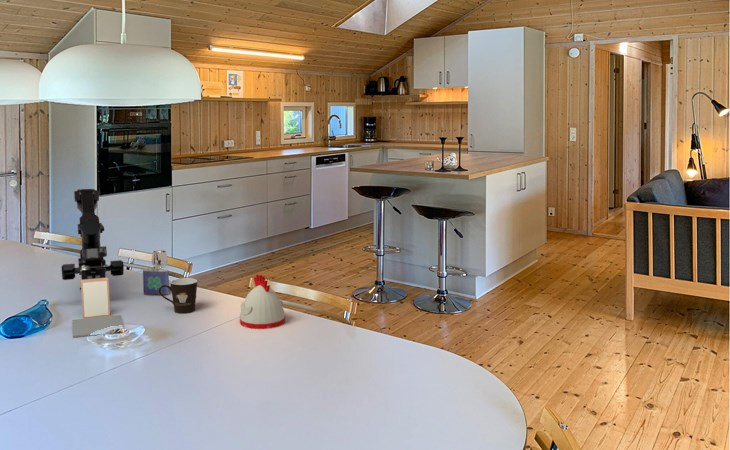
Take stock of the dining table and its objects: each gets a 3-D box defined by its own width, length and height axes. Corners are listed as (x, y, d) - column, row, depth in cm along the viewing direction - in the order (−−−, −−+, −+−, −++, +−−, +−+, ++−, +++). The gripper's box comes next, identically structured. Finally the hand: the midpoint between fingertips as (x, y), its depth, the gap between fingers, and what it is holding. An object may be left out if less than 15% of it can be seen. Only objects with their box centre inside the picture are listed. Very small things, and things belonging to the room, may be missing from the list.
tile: (82, 316, 203) (80, 279, 201) (109, 313, 207) (107, 277, 205) (82, 318, 201) (80, 281, 199) (110, 316, 204) (108, 279, 202)
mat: (72, 321, 198) (72, 319, 198) (120, 316, 204) (120, 314, 204) (73, 337, 184) (72, 336, 184) (124, 331, 190) (124, 330, 190)
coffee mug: (203, 308, 214) (202, 279, 212) (188, 316, 206) (187, 285, 204) (173, 304, 217) (172, 276, 216) (157, 311, 209) (156, 282, 208)
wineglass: (154, 284, 242) (152, 253, 240) (151, 281, 247) (150, 250, 245) (169, 283, 244) (168, 252, 242) (166, 279, 249) (165, 249, 247)
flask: (170, 293, 230) (169, 264, 229) (167, 296, 228) (166, 266, 226) (145, 293, 231) (143, 264, 229) (142, 295, 228) (140, 266, 226)
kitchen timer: (269, 312, 211) (268, 268, 208) (293, 323, 201) (293, 276, 198) (231, 320, 202) (230, 274, 199) (254, 332, 192) (254, 283, 189)
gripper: (59, 240, 205) (61, 281, 197) (121, 236, 213) (126, 276, 205) (61, 259, 213) (63, 299, 205) (121, 254, 221) (125, 293, 213)
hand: (94, 292), depth 207 cm, fingers closed
